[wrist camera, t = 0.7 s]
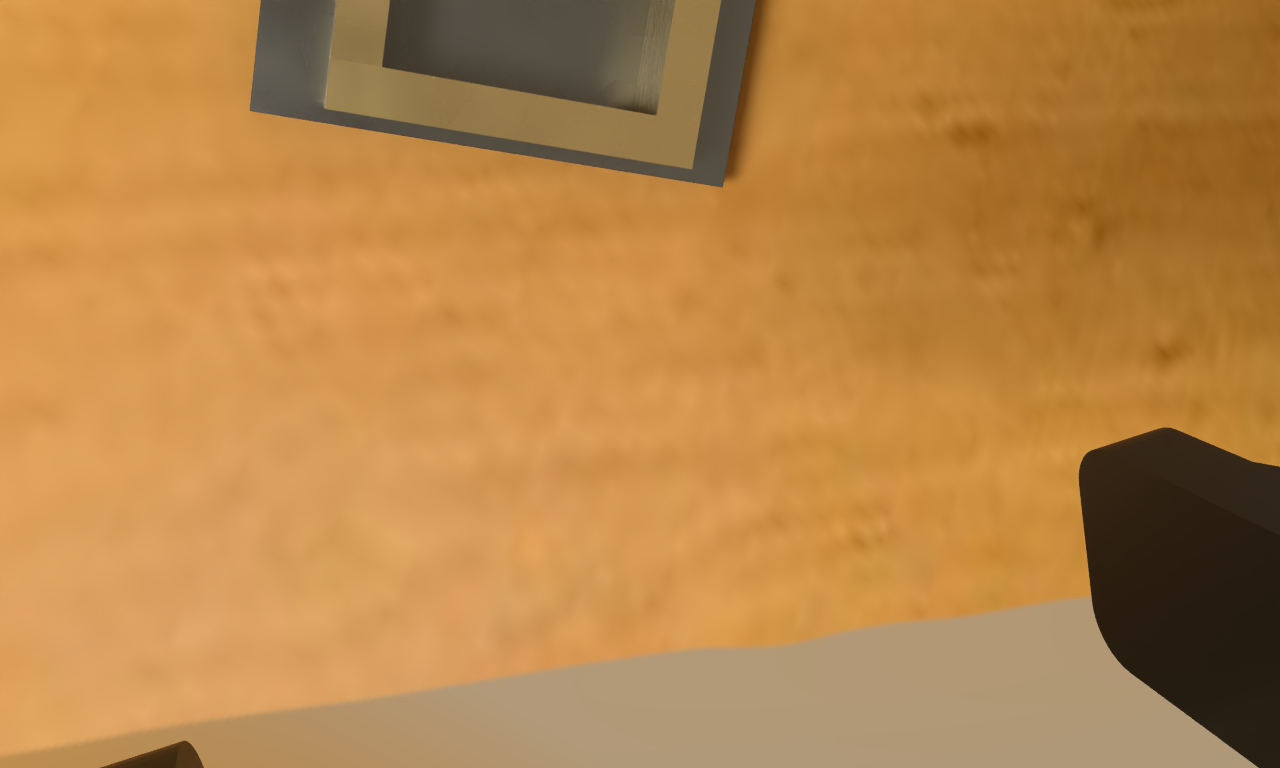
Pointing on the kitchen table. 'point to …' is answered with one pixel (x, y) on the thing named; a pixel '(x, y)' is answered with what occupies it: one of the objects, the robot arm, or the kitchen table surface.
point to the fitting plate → (518, 75)
